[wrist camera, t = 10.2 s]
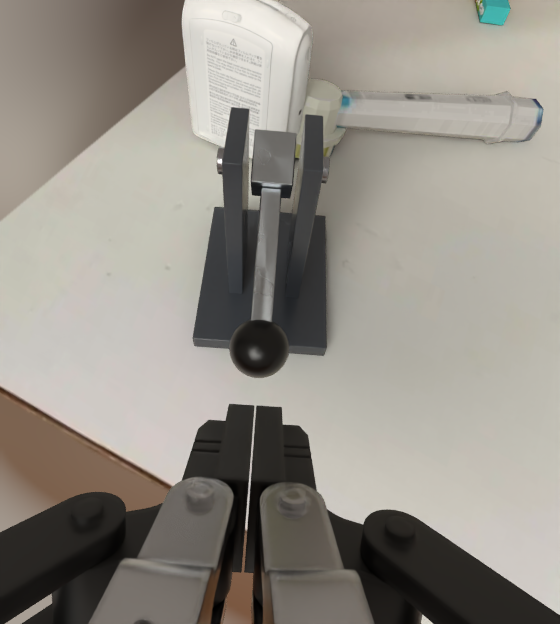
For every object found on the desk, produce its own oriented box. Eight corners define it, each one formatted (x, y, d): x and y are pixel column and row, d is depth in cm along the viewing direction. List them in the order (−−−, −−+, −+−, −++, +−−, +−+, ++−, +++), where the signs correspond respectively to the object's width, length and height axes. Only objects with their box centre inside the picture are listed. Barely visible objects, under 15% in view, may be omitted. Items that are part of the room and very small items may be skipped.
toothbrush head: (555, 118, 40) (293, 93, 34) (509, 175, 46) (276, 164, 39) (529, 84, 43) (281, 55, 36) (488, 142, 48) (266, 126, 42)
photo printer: (305, 148, 41) (326, 1, 31) (286, 176, 39) (302, 29, 29) (209, 112, 43) (198, -38, 33) (185, 137, 41) (166, -15, 30)
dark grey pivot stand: (323, 356, 31) (368, 234, 20) (194, 346, 30) (166, 217, 19) (323, 225, 37) (357, 77, 26) (215, 216, 37) (203, 62, 26)
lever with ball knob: (285, 376, 25) (288, 383, 22) (229, 372, 25) (224, 378, 22) (301, 154, 26) (307, 129, 23) (247, 149, 26) (244, 124, 23)
